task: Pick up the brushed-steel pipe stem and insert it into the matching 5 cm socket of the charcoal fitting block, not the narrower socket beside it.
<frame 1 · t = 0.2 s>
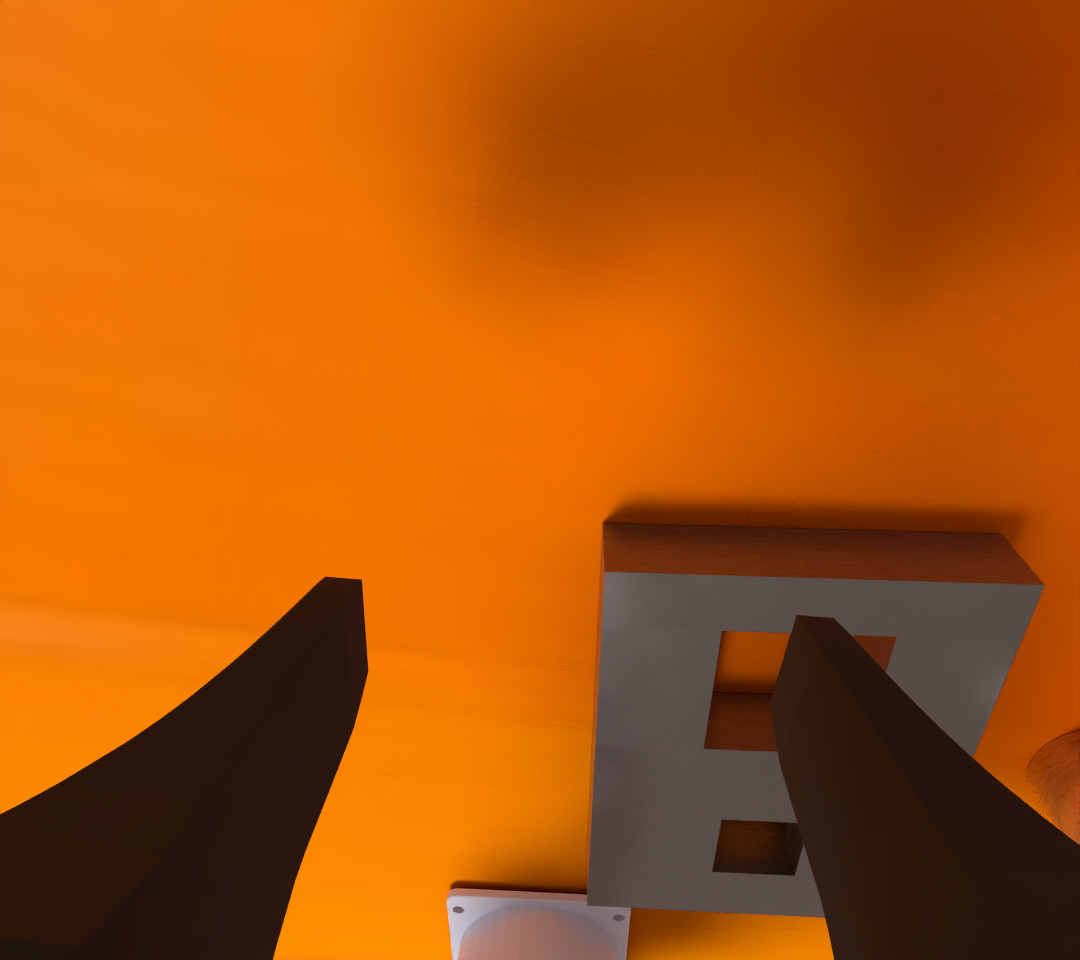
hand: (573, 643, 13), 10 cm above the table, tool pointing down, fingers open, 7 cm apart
fitting block: (761, 714, 27), on the table
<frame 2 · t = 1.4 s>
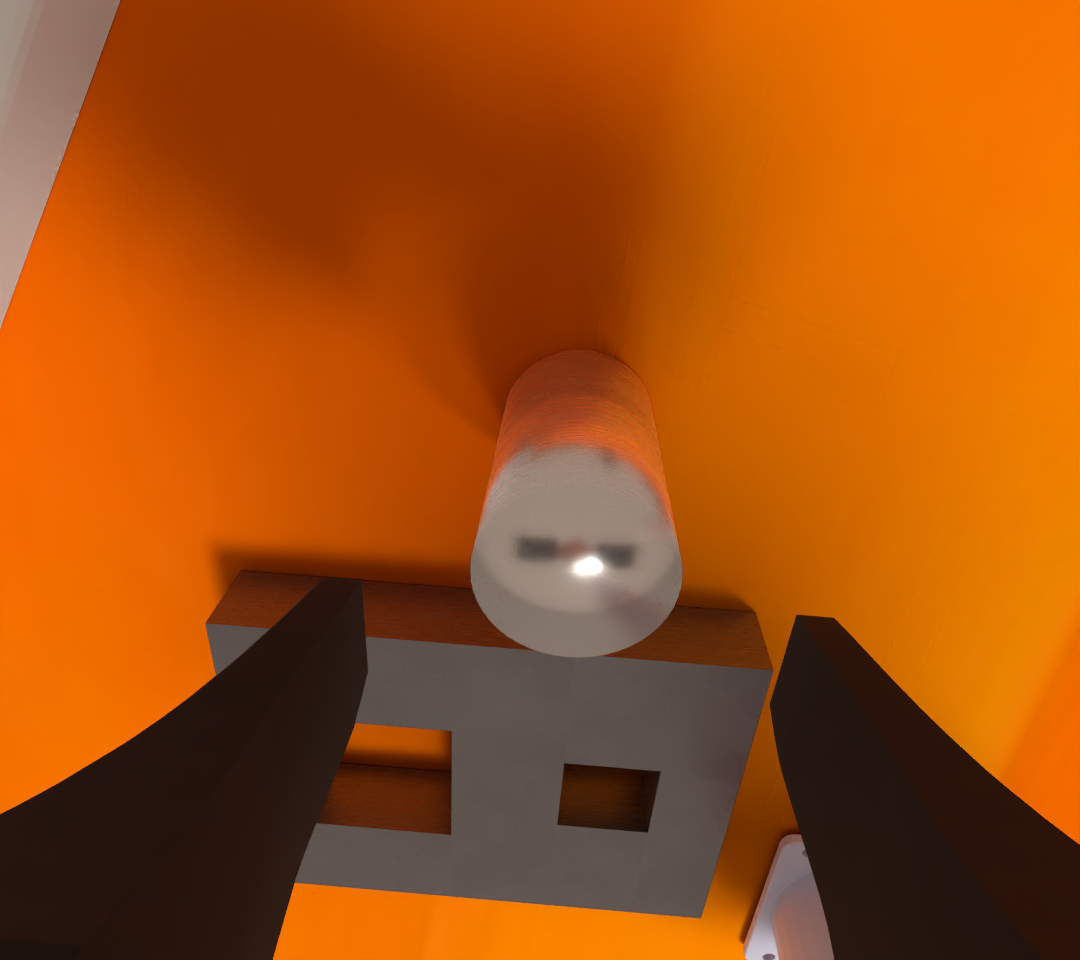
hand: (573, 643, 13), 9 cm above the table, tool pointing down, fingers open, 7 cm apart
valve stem: (578, 420, 20), on the table
fitting block: (491, 727, 26), on the table
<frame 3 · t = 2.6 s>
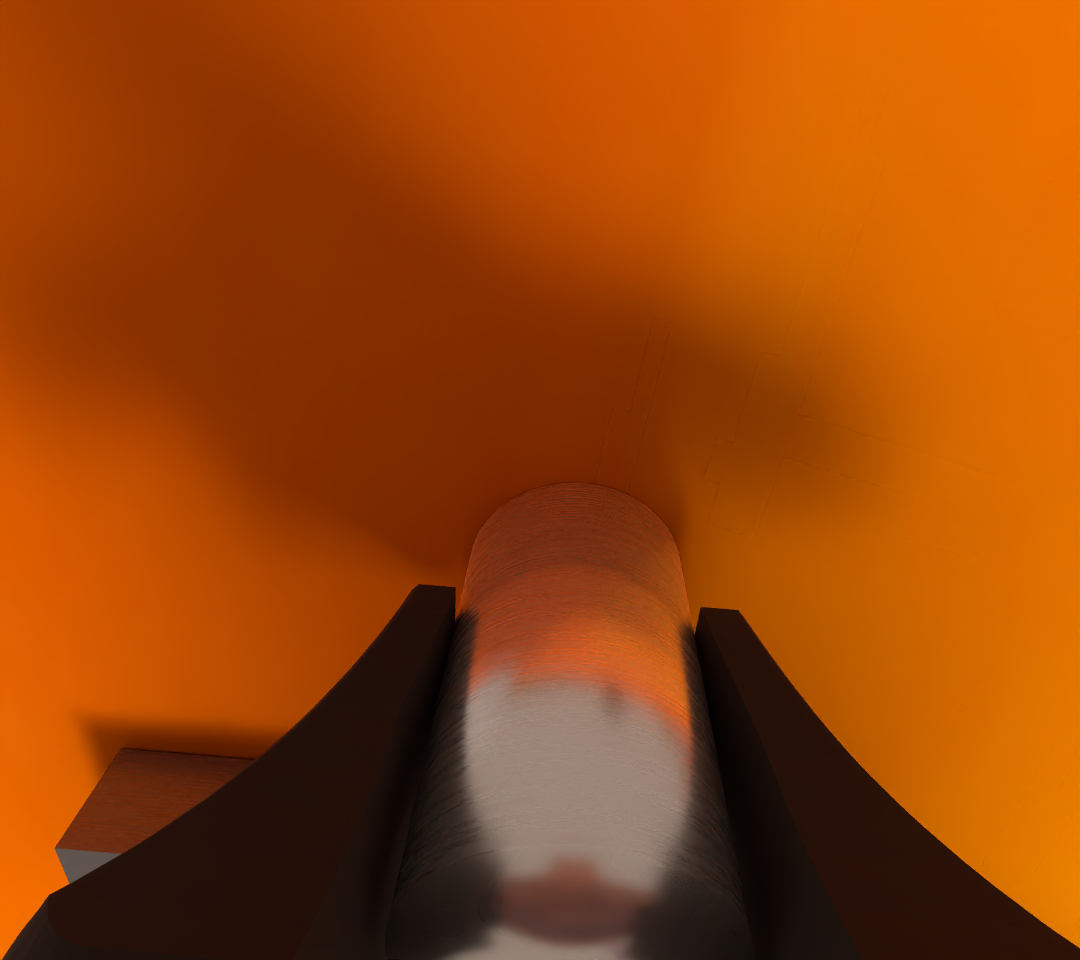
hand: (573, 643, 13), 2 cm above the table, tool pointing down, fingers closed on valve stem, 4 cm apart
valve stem: (574, 574, 14), on the table, touching gripper
fitting block: (462, 926, 20), on the table
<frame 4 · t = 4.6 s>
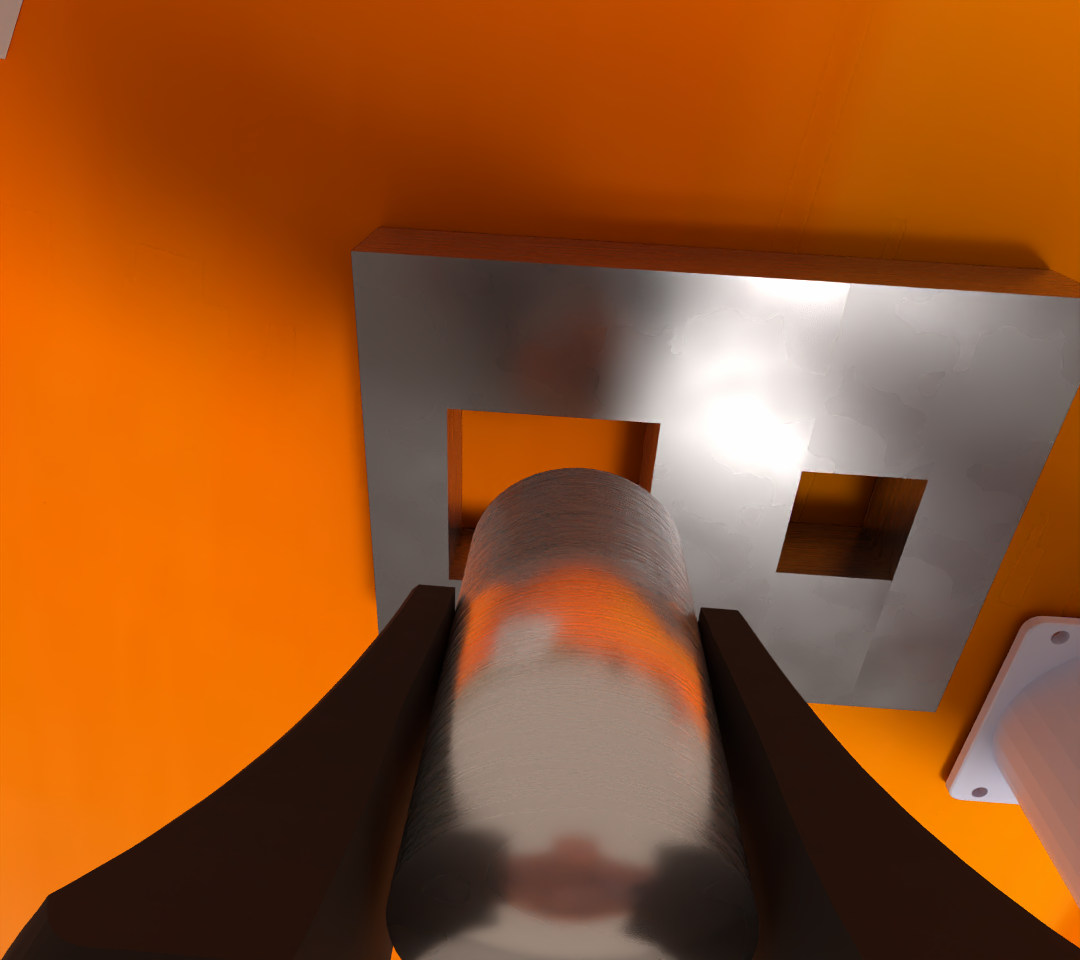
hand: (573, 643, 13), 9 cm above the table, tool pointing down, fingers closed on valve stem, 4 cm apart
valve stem: (575, 561, 14), point 7 cm above the table, touching gripper
fitting block: (676, 468, 21), on the table
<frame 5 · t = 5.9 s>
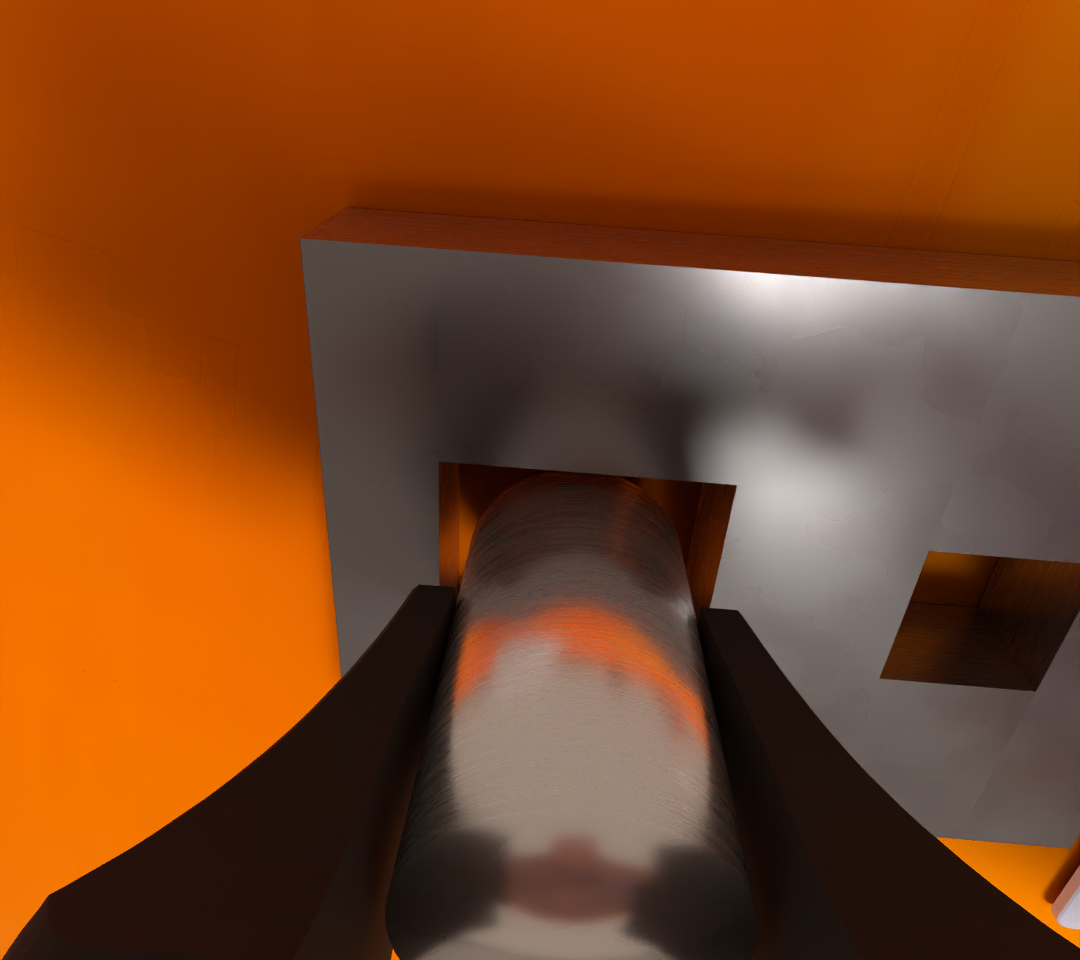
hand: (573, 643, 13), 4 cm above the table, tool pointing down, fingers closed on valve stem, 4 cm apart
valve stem: (574, 562, 14), point 2 cm above the table, touching gripper
fitting block: (741, 531, 16), on the table
when the fingers open (3 cm above the table, at t = 6.9 s): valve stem drops 1 cm, resting in fitting block.
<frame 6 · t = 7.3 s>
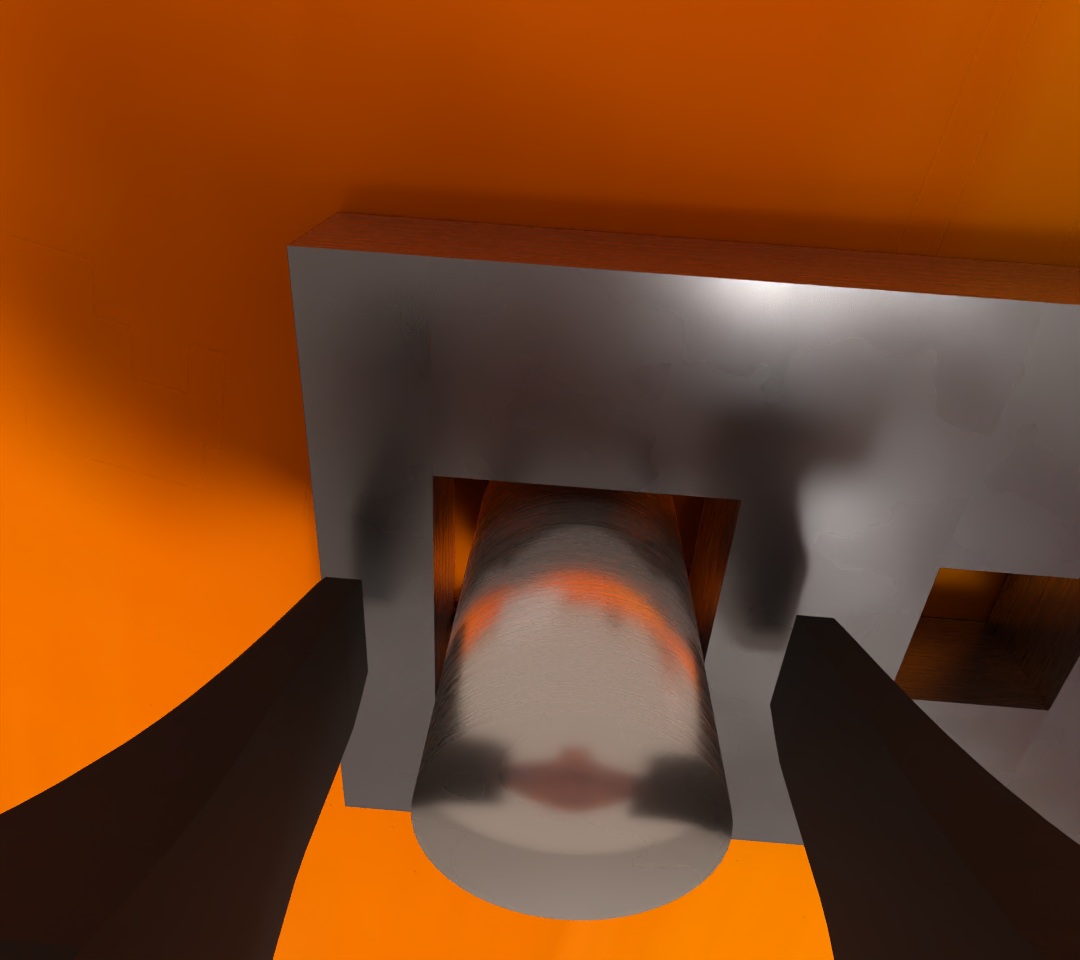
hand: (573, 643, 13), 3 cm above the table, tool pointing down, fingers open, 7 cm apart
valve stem: (577, 522, 15), resting in fitting block
fitting block: (744, 544, 15), on the table
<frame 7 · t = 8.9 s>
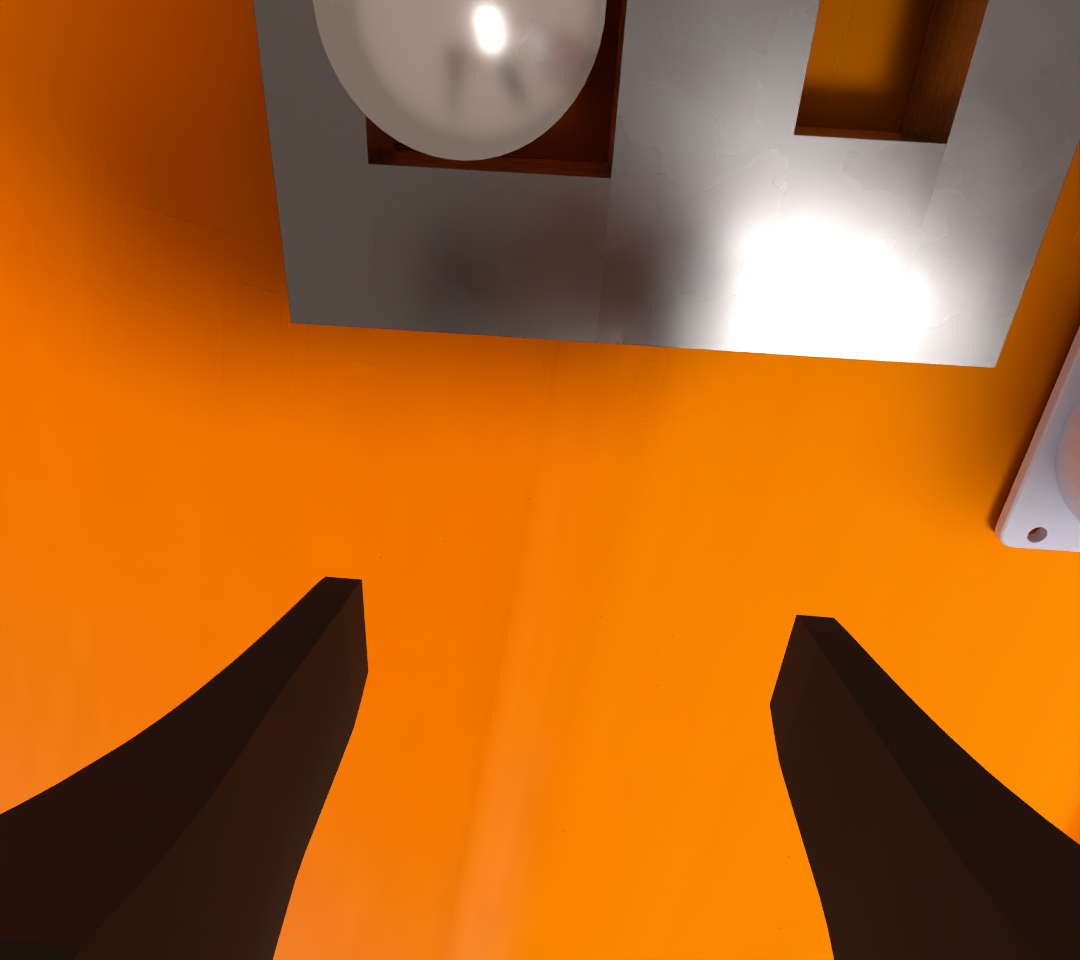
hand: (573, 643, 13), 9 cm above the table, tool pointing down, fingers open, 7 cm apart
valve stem: (504, 21, 16), resting in fitting block
fitting block: (664, 41, 16), on the table
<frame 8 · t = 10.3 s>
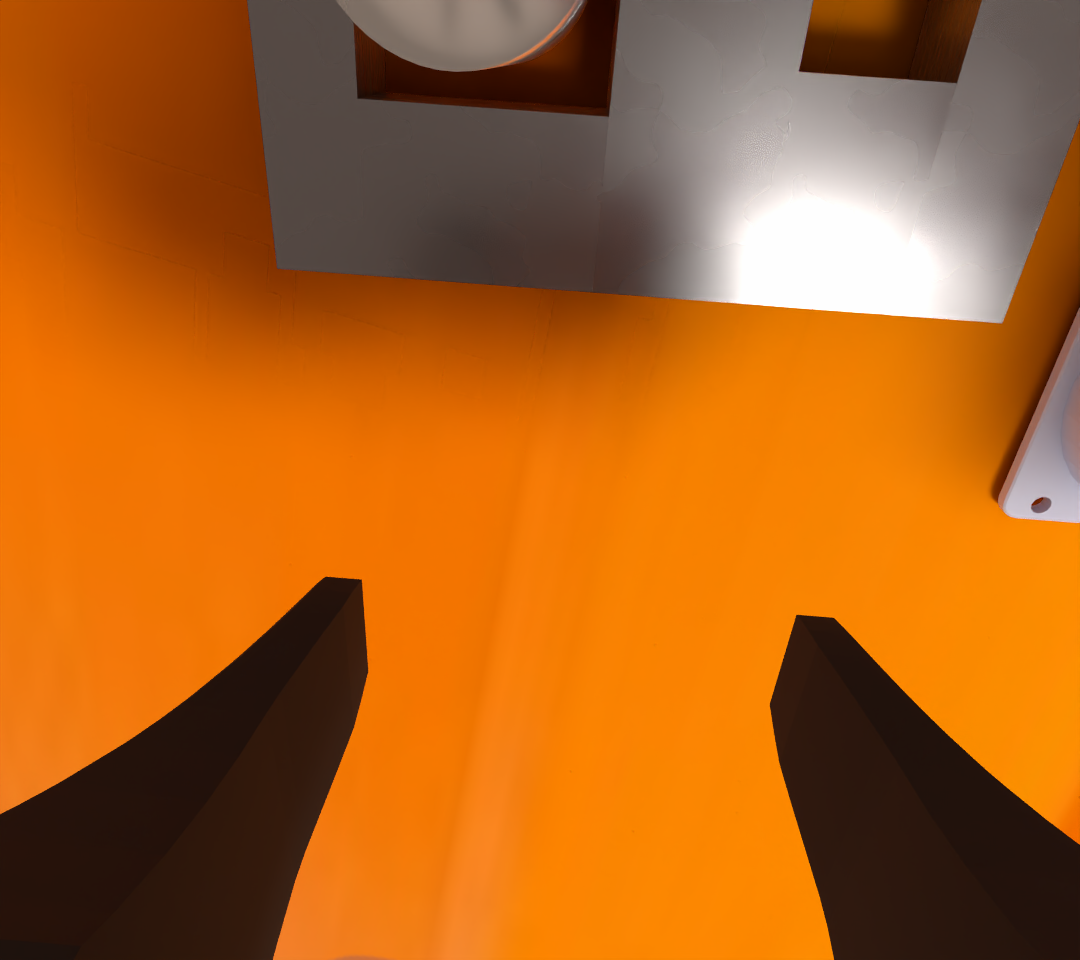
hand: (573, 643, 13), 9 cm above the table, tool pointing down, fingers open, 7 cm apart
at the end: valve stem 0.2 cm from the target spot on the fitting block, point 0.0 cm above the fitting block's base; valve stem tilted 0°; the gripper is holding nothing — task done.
